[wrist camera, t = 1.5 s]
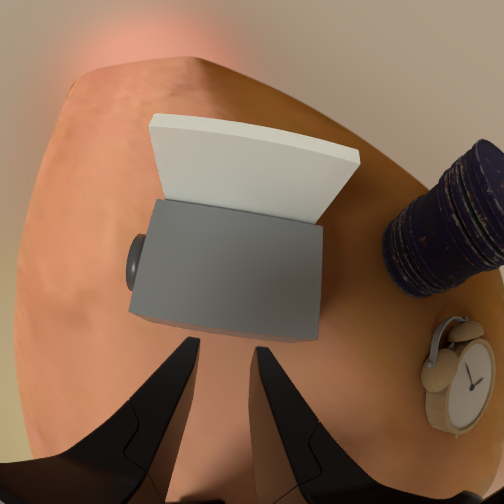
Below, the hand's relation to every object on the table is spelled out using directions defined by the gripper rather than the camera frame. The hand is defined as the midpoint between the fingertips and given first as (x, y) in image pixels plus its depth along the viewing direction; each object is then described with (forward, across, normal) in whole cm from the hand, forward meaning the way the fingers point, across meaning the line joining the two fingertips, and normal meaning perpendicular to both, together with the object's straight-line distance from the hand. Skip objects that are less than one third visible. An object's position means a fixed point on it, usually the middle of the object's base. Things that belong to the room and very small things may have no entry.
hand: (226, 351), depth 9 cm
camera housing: (+13, 0, +6) cm, 15 cm away
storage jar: (+18, -20, +2) cm, 27 cm away
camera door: (+16, 0, +1) cm, 16 cm away
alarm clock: (+8, -26, +12) cm, 30 cm away
